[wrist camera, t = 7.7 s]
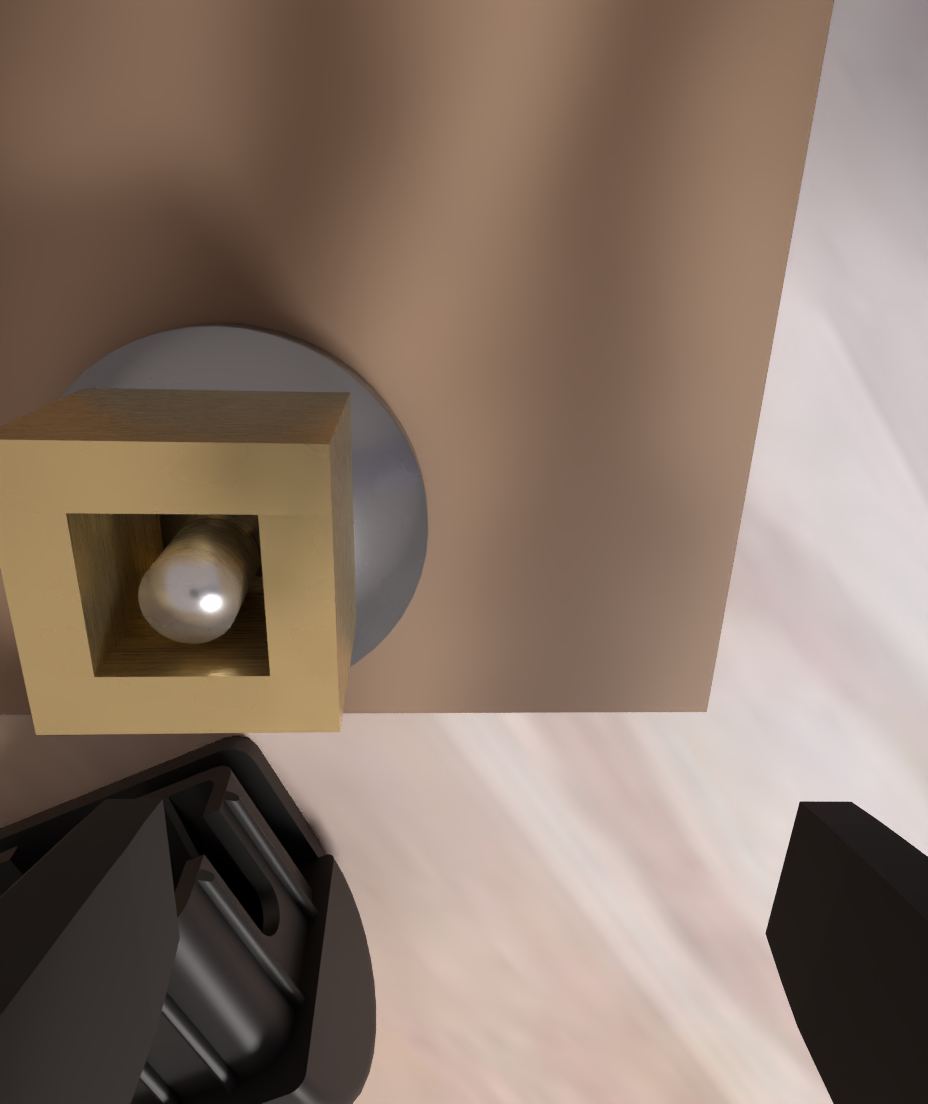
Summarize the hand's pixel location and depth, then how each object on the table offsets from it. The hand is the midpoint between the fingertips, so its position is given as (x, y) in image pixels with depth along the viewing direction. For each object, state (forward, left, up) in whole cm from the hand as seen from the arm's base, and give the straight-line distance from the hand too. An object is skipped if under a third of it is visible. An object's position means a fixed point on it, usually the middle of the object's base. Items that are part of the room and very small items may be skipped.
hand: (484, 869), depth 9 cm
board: (+4, -5, -10) cm, 11 cm away
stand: (+5, -1, -9) cm, 10 cm away
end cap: (+8, +10, -10) cm, 16 cm away
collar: (+5, -1, -8) cm, 10 cm away
